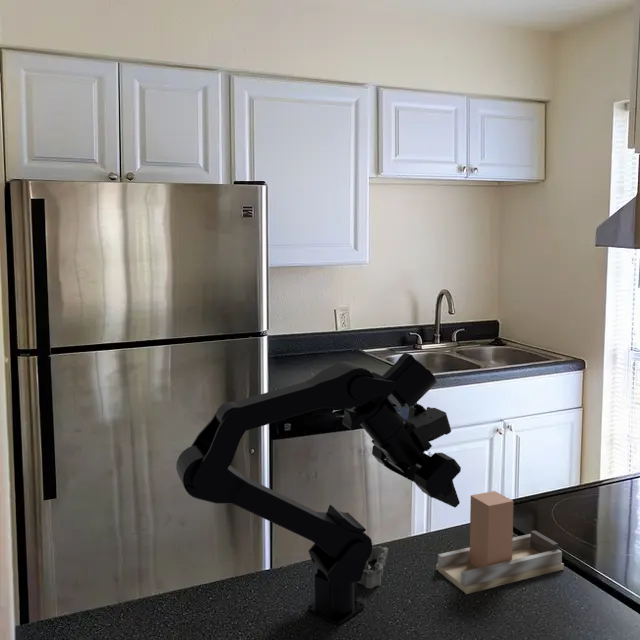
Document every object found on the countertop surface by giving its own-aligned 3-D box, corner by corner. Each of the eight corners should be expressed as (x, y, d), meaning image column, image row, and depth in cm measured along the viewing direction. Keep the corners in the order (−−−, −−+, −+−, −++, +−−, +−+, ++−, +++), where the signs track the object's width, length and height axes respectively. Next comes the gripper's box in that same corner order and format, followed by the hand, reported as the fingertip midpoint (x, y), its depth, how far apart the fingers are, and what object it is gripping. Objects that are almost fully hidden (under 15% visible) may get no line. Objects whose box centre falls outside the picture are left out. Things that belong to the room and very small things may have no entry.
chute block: (487, 575, 110) (488, 505, 109) (469, 562, 115) (470, 495, 114) (511, 569, 112) (513, 501, 111) (493, 556, 117) (494, 490, 116)
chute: (466, 594, 107) (466, 570, 106) (436, 569, 115) (436, 547, 114) (563, 569, 114) (564, 547, 114) (528, 547, 123) (529, 527, 122)
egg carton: (348, 557, 120) (348, 535, 120) (390, 562, 118) (390, 540, 118) (334, 586, 110) (334, 563, 110) (379, 592, 108) (379, 568, 108)
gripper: (456, 405, 96) (510, 478, 101) (395, 380, 113) (444, 443, 118) (402, 460, 93) (460, 531, 98) (348, 426, 110) (400, 488, 115)
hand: (441, 494), depth 107 cm, fingers open, 9 cm apart
